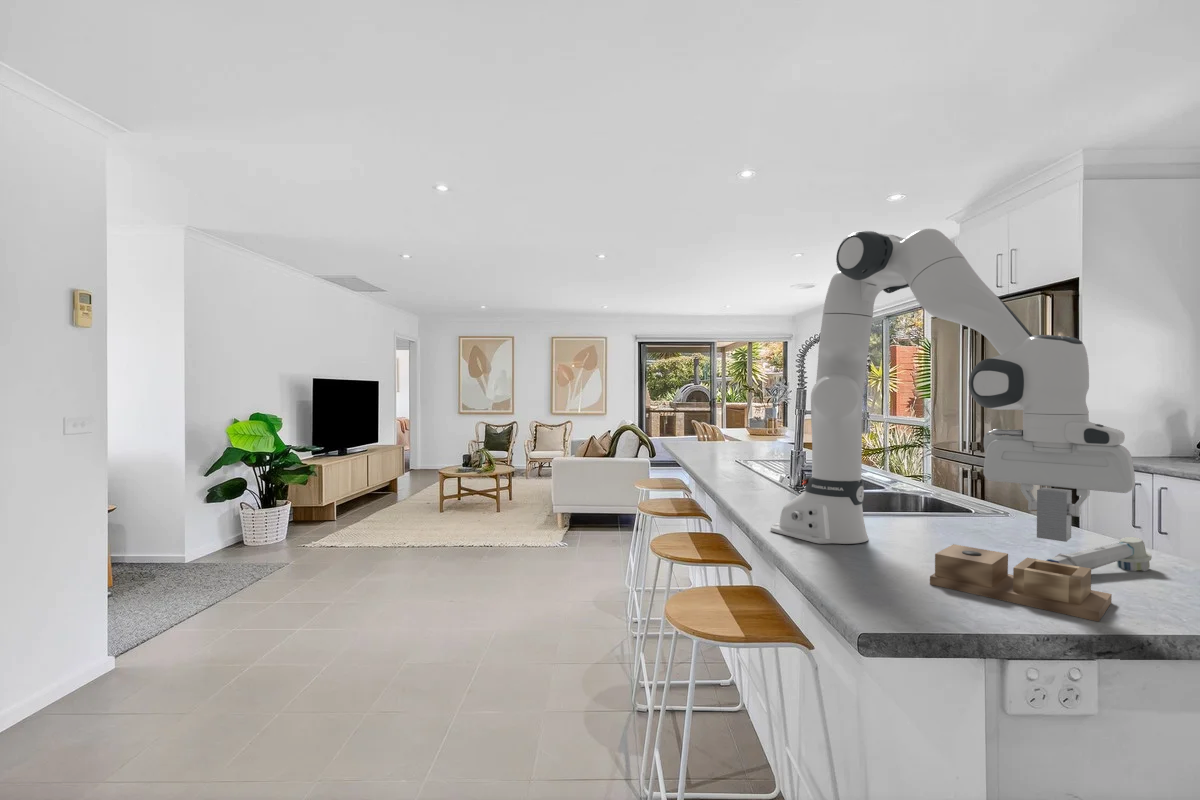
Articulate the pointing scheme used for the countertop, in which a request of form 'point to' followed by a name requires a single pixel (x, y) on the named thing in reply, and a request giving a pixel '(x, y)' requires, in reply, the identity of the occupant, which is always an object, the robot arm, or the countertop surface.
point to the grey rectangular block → (1053, 514)
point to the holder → (1020, 581)
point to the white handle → (1110, 556)
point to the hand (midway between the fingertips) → (1054, 513)
